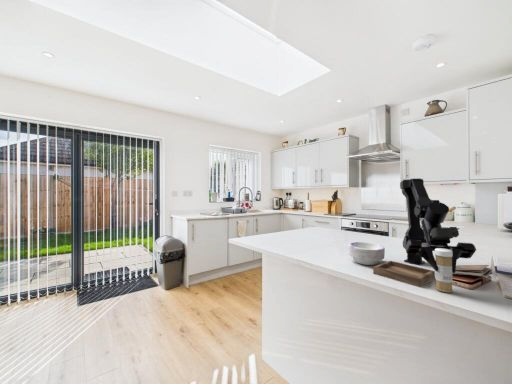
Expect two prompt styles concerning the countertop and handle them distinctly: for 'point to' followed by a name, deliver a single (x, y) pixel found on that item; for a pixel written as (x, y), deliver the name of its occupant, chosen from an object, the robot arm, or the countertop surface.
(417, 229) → the robot arm
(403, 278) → the walnut tray
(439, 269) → the sprinkles bottle
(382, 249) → the paper bowls
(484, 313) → the countertop surface
